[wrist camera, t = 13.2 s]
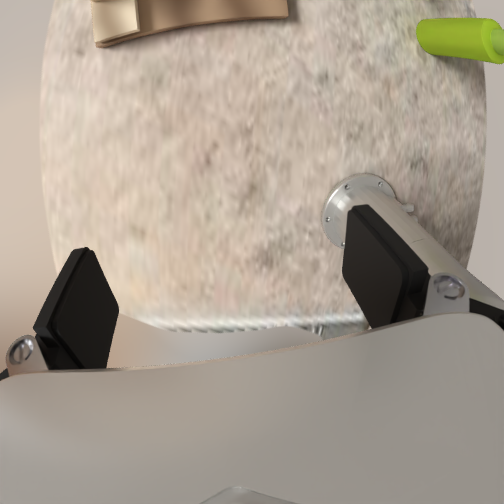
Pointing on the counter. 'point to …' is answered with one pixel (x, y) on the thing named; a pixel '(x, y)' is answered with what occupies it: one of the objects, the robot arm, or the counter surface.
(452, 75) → the counter surface
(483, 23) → the soap dispenser
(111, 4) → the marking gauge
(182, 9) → the walnut board
